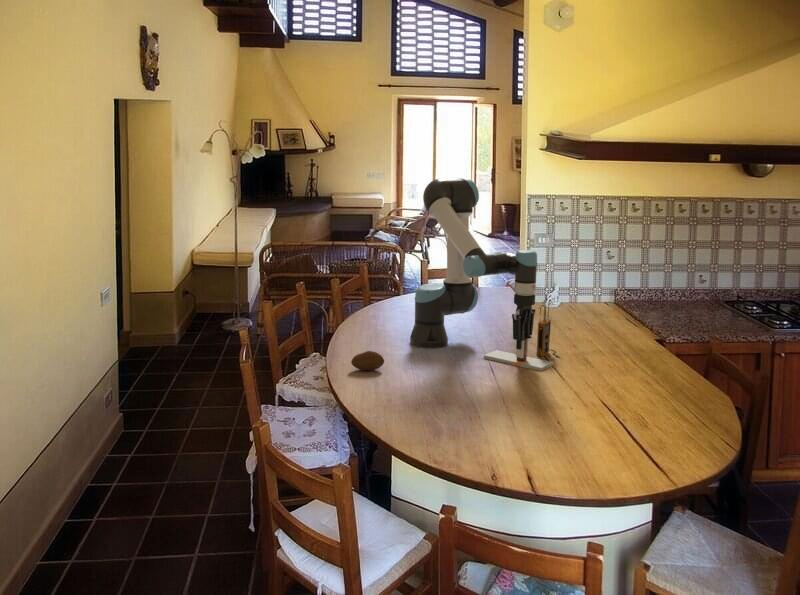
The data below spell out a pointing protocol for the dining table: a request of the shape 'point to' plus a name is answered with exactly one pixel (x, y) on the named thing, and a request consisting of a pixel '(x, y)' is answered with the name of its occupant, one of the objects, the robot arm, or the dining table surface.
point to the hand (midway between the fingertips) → (521, 356)
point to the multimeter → (544, 336)
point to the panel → (512, 359)
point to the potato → (367, 361)
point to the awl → (524, 351)
